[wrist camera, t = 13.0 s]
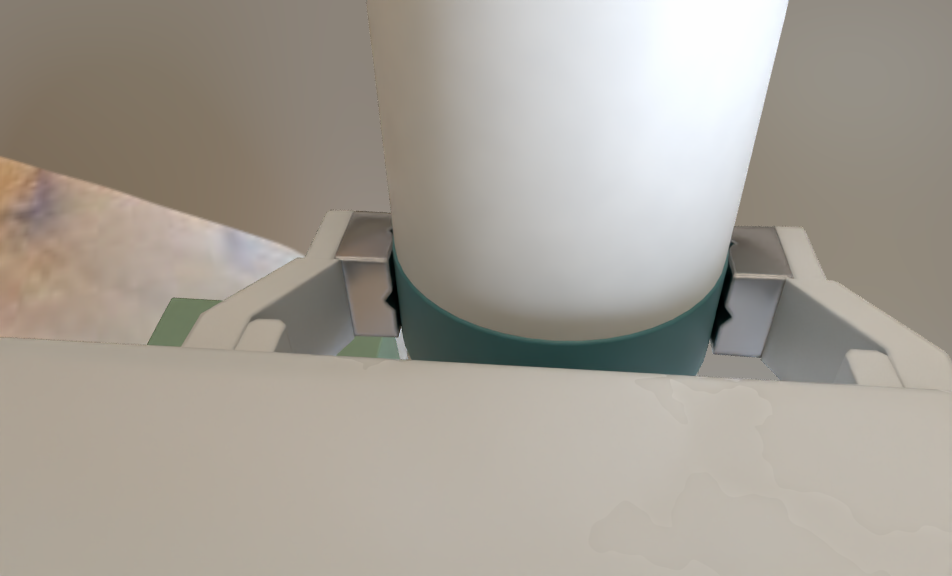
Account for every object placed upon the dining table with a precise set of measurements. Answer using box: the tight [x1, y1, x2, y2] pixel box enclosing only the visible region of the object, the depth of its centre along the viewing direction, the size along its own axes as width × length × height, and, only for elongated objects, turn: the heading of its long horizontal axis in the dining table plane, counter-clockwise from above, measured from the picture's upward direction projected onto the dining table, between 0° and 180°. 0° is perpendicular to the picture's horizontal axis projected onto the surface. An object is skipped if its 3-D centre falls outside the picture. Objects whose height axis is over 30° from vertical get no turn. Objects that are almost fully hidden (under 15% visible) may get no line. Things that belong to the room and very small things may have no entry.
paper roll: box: [366, 0, 789, 376], centre depth 13 cm, size 13×6×13 cm
